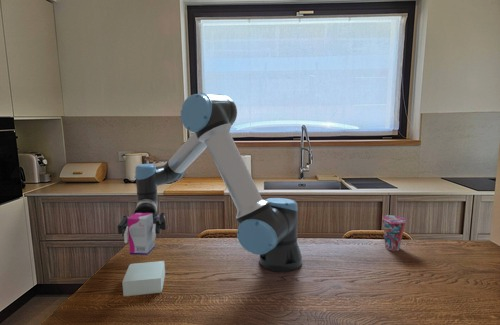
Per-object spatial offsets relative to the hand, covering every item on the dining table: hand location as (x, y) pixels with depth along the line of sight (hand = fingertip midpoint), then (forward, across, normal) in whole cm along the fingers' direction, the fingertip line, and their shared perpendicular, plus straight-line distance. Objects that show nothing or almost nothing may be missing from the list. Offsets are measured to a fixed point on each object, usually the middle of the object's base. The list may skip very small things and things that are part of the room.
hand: (139, 237), depth 93 cm
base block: (-5, 0, -18) cm, 19 cm away
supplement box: (-5, 0, -7) cm, 8 cm away
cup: (-7, -92, -18) cm, 94 cm away
